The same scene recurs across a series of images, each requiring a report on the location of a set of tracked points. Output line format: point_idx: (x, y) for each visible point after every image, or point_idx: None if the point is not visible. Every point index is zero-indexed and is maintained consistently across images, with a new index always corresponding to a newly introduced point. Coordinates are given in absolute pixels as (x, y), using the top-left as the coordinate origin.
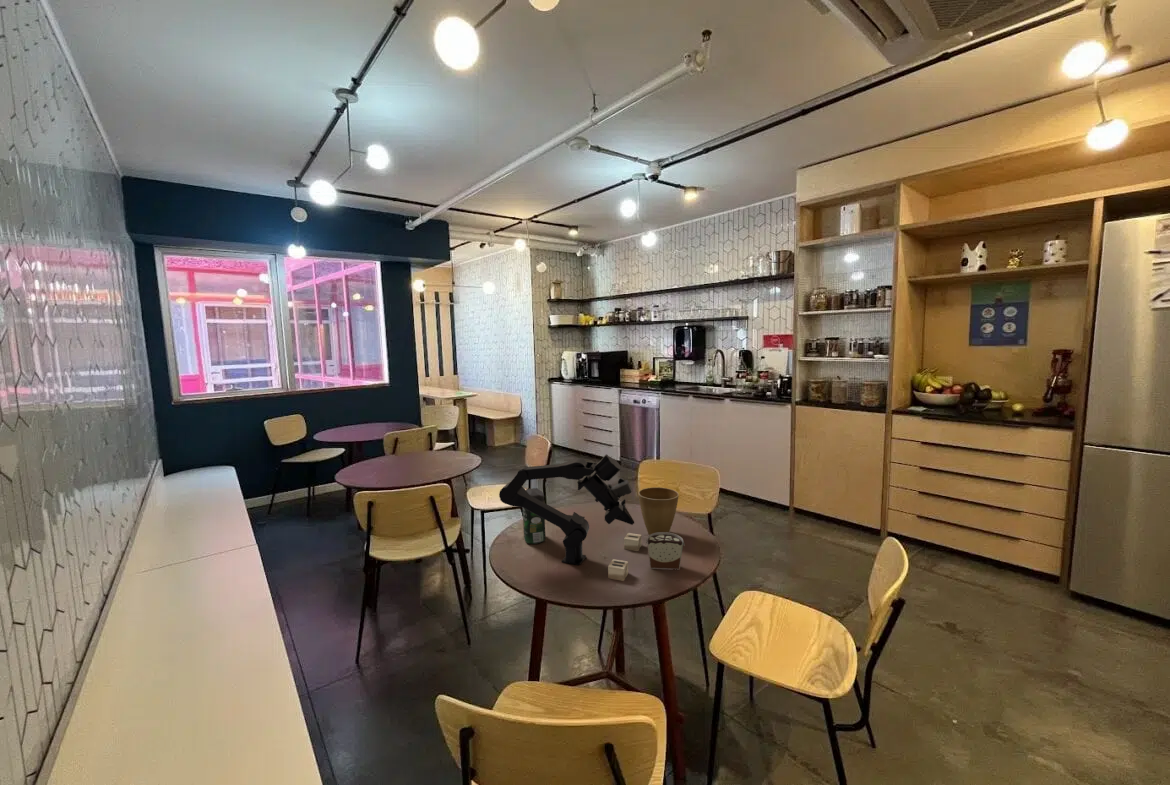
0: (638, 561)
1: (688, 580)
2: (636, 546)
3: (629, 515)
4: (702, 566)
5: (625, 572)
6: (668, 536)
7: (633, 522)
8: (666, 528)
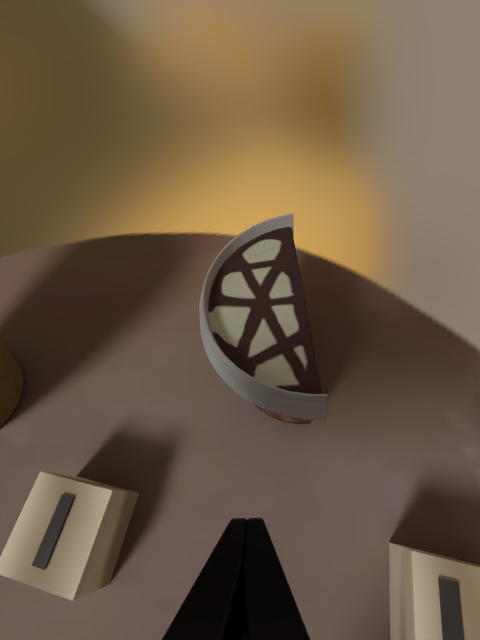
0: (248, 485)
1: (363, 285)
2: (126, 502)
3: (228, 631)
4: None
5: (464, 562)
6: (227, 286)
7: (265, 530)
8: (1, 344)
